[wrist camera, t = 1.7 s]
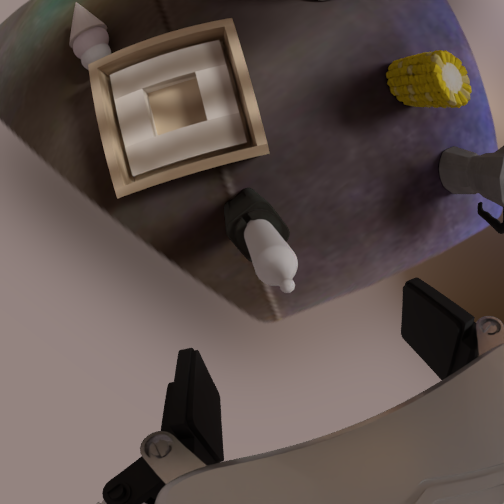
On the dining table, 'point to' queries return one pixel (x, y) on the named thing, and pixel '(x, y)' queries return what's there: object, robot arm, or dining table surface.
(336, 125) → the dining table surface
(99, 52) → the ice cream cone
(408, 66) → the food
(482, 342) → the robot arm
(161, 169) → the box
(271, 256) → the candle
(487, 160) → the coffeepot
